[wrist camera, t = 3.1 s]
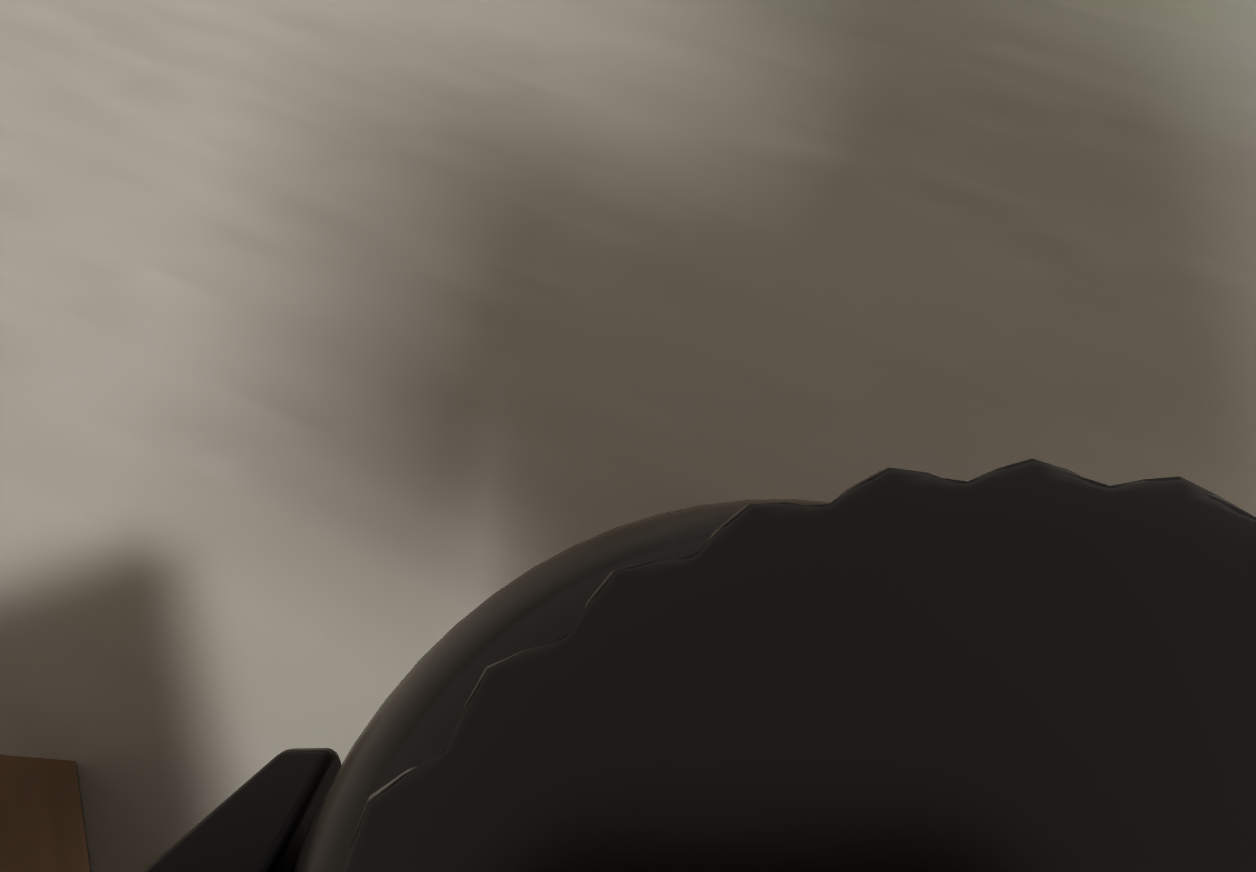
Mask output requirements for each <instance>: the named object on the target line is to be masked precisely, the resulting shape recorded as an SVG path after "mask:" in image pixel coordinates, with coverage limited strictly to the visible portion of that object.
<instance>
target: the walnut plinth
mask: <svg viewBox="0 0 1256 872" xmlns="http://www.w3.org/2000/svg"><path fill="white" fill-rule="evenodd" d="M0 872H90V864H89V857H88V850H87V842H86V835H85V828H84V820H83V813H82V806H81V798H80V791H79V784H78V776H77V769H76V762H75V761H66V760H54V759H42V758H30V757H18V756H6V755H0Z"/></svg>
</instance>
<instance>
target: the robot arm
mask: <svg viewBox="0 0 1256 872" xmlns="http://www.w3.org/2000/svg"><path fill="white" fill-rule="evenodd" d="M340 767H341V761H340V759H339V756H338V754H337V752H335V751H334V750H332V749H330V748H302V749H289V750H285V751H283V752H282V753H280V754H279V755H277V756H276V757H275V758H274V759H272V760H271V761H270V762H269V763H268V764H267V765H266V766H264V767H263V768H262V769H261V770H260V771H259V772H257V773H256V774H255V775H254V776H253V777H252V778H251V779H249V780H248V781H247V782H246V783H245V784H244V785H242V786H241V787H240V788H239V789H238V790H237V791H236V792H234V793H233V794H232V795H231V796H230V797H229V798H228V799H226V800H225V801H224V802H223V803H222V804H221V805H219V806H218V807H217V808H216V809H215V810H214V811H213V812H211V813H210V814H209V815H208V816H207V817H206V818H204V819H203V820H202V821H201V822H200V823H199V824H198V825H196V826H195V827H194V828H193V829H192V830H191V831H189V832H188V833H187V834H186V835H185V836H184V837H183V838H181V839H180V840H179V841H178V842H177V843H176V844H174V845H173V846H172V847H171V848H170V849H169V850H168V851H166V852H165V853H164V854H163V855H162V856H161V857H160V858H158V859H157V860H156V861H155V862H154V863H153V864H151V865H150V866H149V867H148V868H147V869H146V870H145V871H143V872H290V870H291V868H292V865H293V862H294V860H295V857H296V854H297V852H298V849H299V847H300V844H301V842H302V840H303V838H304V836H305V834H306V832H307V830H308V828H309V826H310V824H311V821H312V819H313V817H314V815H315V813H316V811H317V809H318V807H319V805H320V803H321V801H322V798H323V796H324V794H325V792H326V791H327V789H328V787H329V786H330V784H331V782H332V781H333V779H334V777H335V775H336V774H337V772H338V770H339V769H340Z"/></svg>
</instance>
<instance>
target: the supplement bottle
mask: <svg viewBox="0 0 1256 872" xmlns="http://www.w3.org/2000/svg"><path fill="white" fill-rule="evenodd" d="M290 872H1256V517H1254V516H1252V515H1250V514H1249V513H1247V512H1245V511H1243V510H1242V509H1240V508H1238V507H1236V506H1235V505H1233V504H1231V503H1229V502H1228V501H1226V500H1224V499H1222V498H1221V497H1219V496H1217V495H1215V494H1213V493H1211V492H1209V491H1207V490H1205V489H1203V488H1201V487H1199V486H1197V485H1195V484H1193V483H1191V482H1189V481H1187V480H1185V479H1183V478H1181V477H1168V478H1157V479H1145V480H1139V481H1134V482H1129V483H1124V484H1118V485H1113V486H1108V485H1105V484H1102V483H1099V482H1095V481H1092V480H1089V479H1086V478H1083V477H1081V476H1079V475H1077V474H1075V473H1074V472H1072V471H1070V470H1067V469H1064V468H1061V467H1057V466H1054V465H1051V464H1048V463H1045V462H1041V461H1038V460H1035V459H1029V460H1025V461H1022V462H1018V463H1015V464H1012V465H1008V466H1005V467H1001V468H998V469H996V470H993V471H991V472H988V473H986V474H984V475H982V476H980V477H978V478H975V479H973V480H970V481H968V482H966V481H959V480H951V479H944V478H940V477H937V476H935V475H932V474H929V473H925V472H918V471H910V470H902V469H895V468H886V469H884V470H882V471H879V472H877V473H875V474H874V475H872V476H870V477H868V478H867V479H865V480H863V481H861V482H859V483H858V484H856V485H854V486H852V487H851V488H849V489H847V490H846V491H844V492H843V493H842V494H841V495H840V496H839V497H838V498H837V499H836V500H834V501H833V502H820V501H808V500H795V499H784V500H744V501H735V502H726V503H717V504H708V505H702V506H697V507H692V508H687V509H683V510H678V511H673V512H668V513H663V514H659V515H656V516H653V517H650V518H646V519H643V520H640V521H637V522H633V523H630V524H627V525H624V526H621V527H617V528H615V529H613V530H610V531H608V532H605V533H603V534H601V535H598V536H596V537H594V538H591V539H589V540H586V541H584V542H582V543H579V544H577V545H575V546H573V547H571V548H569V549H567V550H565V551H563V552H562V553H560V554H558V555H556V556H554V557H552V558H550V559H549V560H547V561H545V562H543V563H541V564H539V565H537V566H536V567H534V568H532V569H531V570H529V571H528V572H526V573H525V574H523V575H522V576H520V577H519V578H517V579H516V580H514V581H513V582H511V583H510V584H508V585H507V586H505V587H504V588H502V589H501V590H499V591H498V592H496V593H495V594H493V595H492V596H491V597H489V598H488V599H487V600H486V601H484V602H483V603H482V604H481V605H480V606H478V607H477V608H476V609H475V610H473V611H472V612H471V613H470V614H468V615H467V616H466V617H465V618H463V619H462V620H461V621H460V622H459V623H457V624H456V625H455V626H454V627H453V628H452V629H451V630H450V631H449V632H448V633H447V634H446V635H445V636H444V637H443V638H442V639H441V640H440V641H439V642H438V643H436V644H435V645H434V646H433V647H432V648H431V649H430V650H429V651H428V652H427V653H426V654H425V655H424V656H423V657H422V658H421V659H420V660H419V661H418V662H417V664H416V665H415V666H414V667H413V668H412V669H411V671H410V672H409V673H408V674H407V675H406V676H405V678H404V679H403V680H402V681H401V682H400V683H399V685H398V686H397V687H396V688H395V689H394V691H393V692H392V693H391V694H390V695H389V696H388V698H387V699H386V700H385V701H384V703H383V704H382V705H381V707H380V708H379V710H378V711H377V712H376V714H375V715H374V717H373V718H372V720H371V721H370V722H369V724H368V725H367V727H366V728H365V729H364V731H363V732H362V734H361V735H360V736H359V738H358V739H357V741H356V742H355V743H354V745H353V747H352V748H351V750H350V752H349V753H348V755H347V757H346V758H345V760H344V762H343V764H342V765H341V767H340V769H339V770H338V772H337V774H336V775H335V777H334V779H333V781H332V782H331V784H330V786H329V787H328V789H327V791H326V792H325V794H324V796H323V798H322V801H321V803H320V805H319V807H318V809H317V811H316V813H315V815H314V817H313V819H312V821H311V824H310V826H309V828H308V830H307V832H306V834H305V836H304V838H303V840H302V842H301V844H300V847H299V849H298V852H297V854H296V857H295V860H294V862H293V865H292V868H291V870H290Z"/></svg>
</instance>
